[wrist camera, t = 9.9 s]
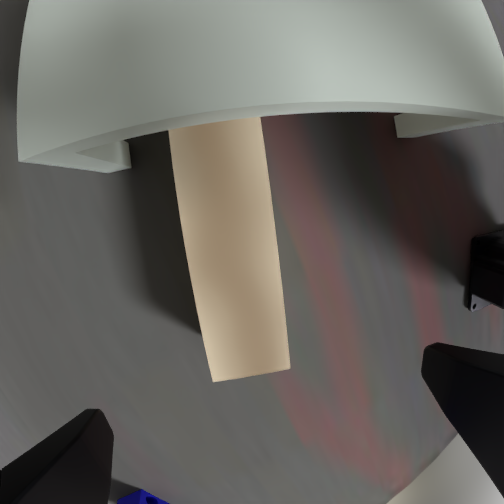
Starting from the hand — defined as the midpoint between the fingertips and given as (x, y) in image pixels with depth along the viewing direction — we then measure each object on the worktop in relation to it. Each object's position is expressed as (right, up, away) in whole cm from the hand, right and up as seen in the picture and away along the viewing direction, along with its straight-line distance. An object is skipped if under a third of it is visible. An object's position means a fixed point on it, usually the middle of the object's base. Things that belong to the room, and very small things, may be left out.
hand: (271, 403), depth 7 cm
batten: (-3, +11, +10) cm, 15 cm away
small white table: (0, +14, +9) cm, 17 cm away
